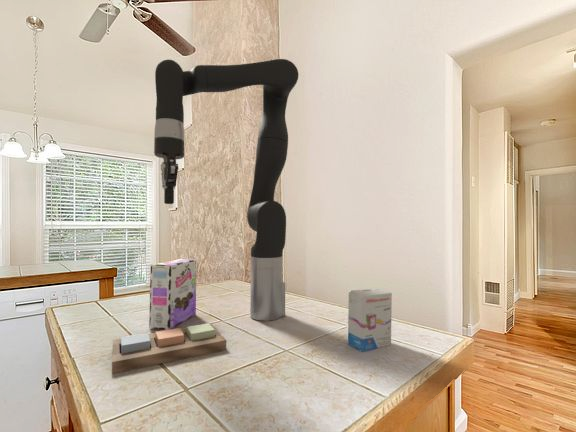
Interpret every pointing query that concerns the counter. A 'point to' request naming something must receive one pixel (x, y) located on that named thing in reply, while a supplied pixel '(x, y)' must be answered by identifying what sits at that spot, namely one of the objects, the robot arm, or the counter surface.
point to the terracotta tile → (169, 337)
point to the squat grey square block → (135, 343)
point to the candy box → (172, 293)
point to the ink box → (369, 319)
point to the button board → (164, 351)
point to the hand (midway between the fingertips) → (168, 203)
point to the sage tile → (200, 332)
